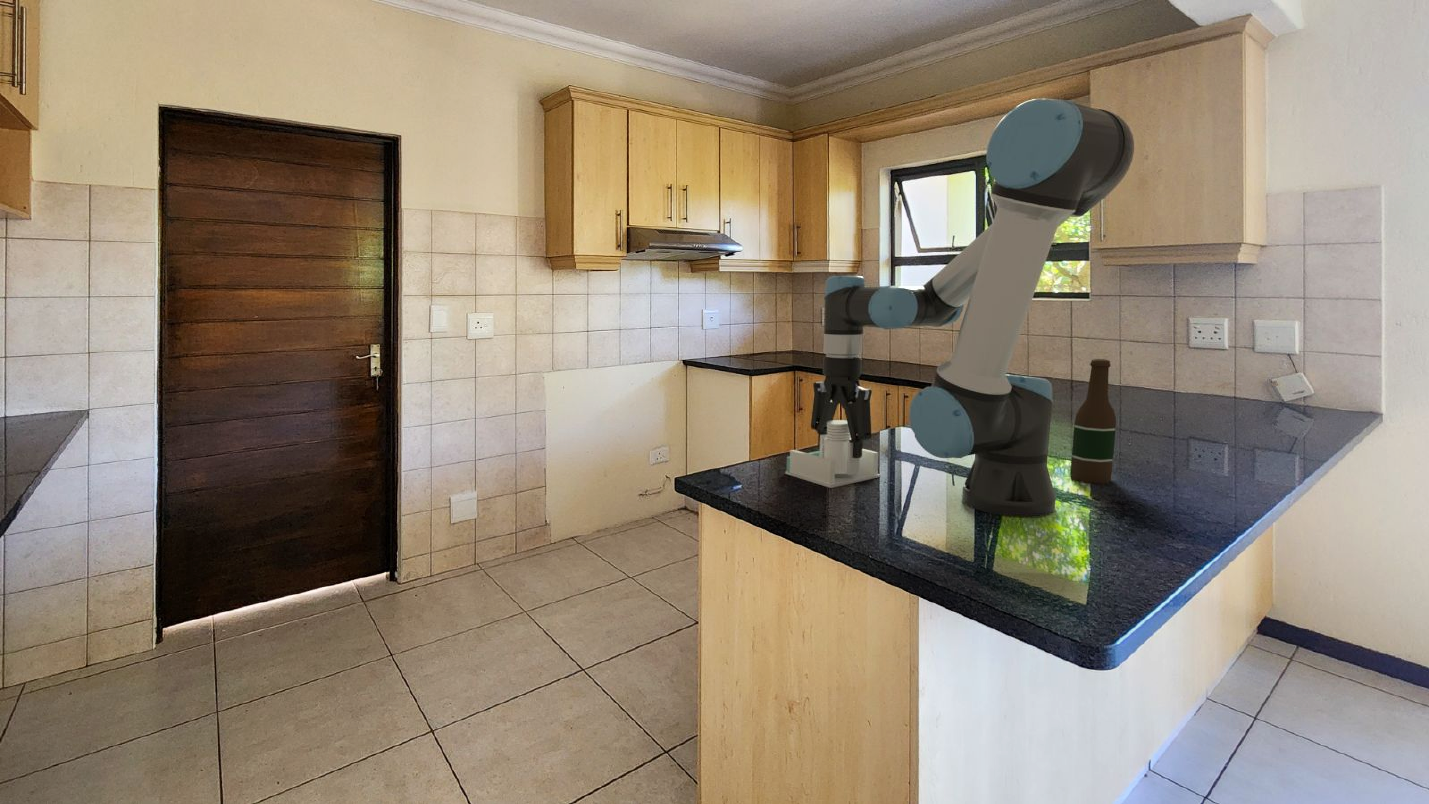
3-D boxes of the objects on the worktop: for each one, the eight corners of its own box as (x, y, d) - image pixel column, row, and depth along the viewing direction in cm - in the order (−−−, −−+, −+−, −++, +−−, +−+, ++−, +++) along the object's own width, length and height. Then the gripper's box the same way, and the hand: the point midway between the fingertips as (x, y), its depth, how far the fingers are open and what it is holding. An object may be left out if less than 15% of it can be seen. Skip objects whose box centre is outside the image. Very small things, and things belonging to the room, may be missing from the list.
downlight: (857, 466, 145) (857, 418, 144) (861, 475, 138) (860, 425, 137) (818, 466, 146) (817, 419, 145) (819, 475, 139) (818, 425, 138)
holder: (880, 476, 143) (881, 452, 142) (830, 488, 134) (831, 462, 134) (833, 464, 153) (834, 441, 152) (785, 473, 145) (785, 449, 144)
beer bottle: (1101, 474, 145) (1112, 358, 141) (1119, 485, 137) (1131, 362, 133) (1062, 473, 145) (1071, 357, 142) (1077, 483, 138) (1088, 361, 134)
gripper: (895, 358, 133) (889, 477, 136) (820, 350, 149) (817, 457, 152) (867, 361, 128) (863, 483, 132) (794, 352, 144) (791, 461, 148)
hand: (838, 469), depth 142 cm, fingers closed on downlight, 7 cm apart
